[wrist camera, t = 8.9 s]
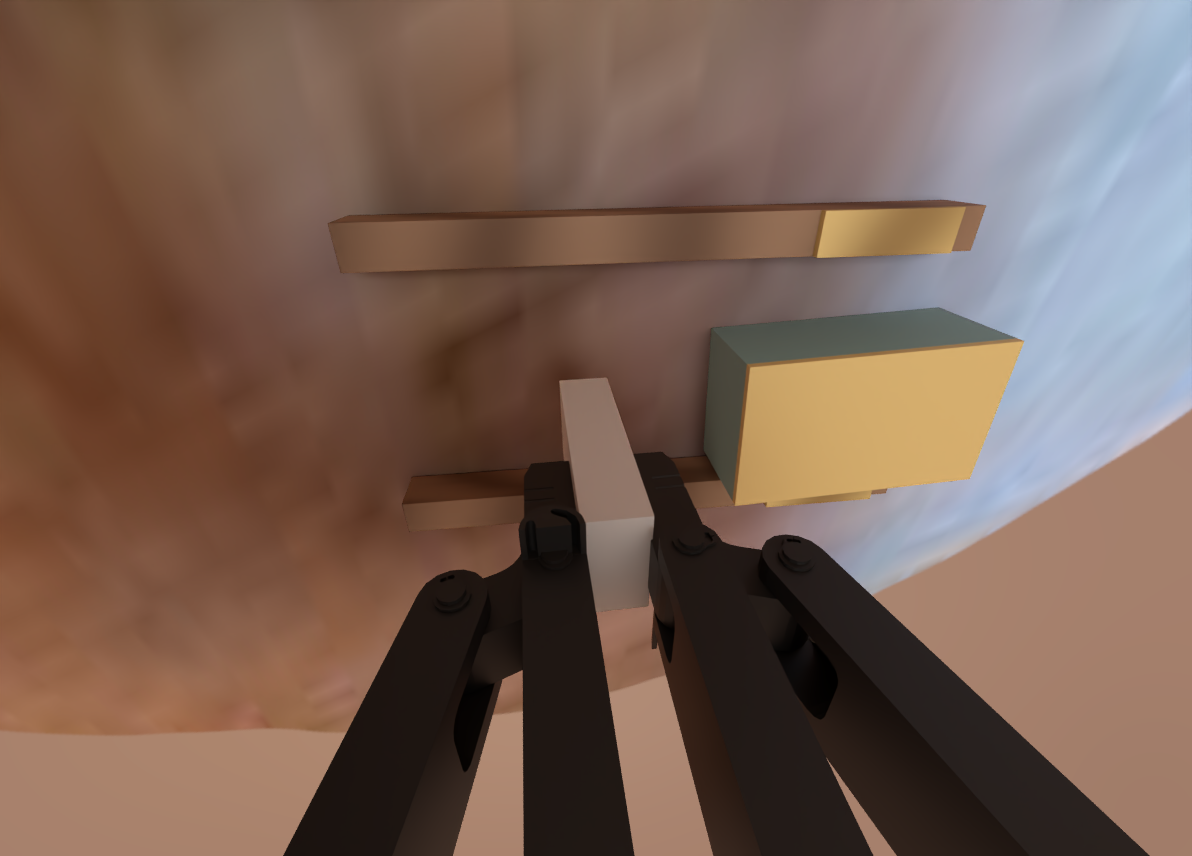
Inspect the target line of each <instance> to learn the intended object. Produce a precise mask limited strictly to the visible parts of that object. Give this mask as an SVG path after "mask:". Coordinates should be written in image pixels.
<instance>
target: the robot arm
mask: <svg viewBox="0 0 1192 856" xmlns="http://www.w3.org/2000/svg"><path fill="white" fill-rule="evenodd" d="M559 385H560V403H561V422H562V440H563V455H564V461H559V462H547V463H535V464H531V466H530V467H529V469H528V470H527V472H526V474H525V475H524V518H523V519H522V520H521V523H520V526H519V538H520V547H521V555H520V557H519V558H518V559H517V560H516V562H515V563H514V564H512V565H511V566H510V567H508V568H507V569H505V570H503V571H501V572H499V573H497V574H494V575H492V576H489V577H486V578H484V579H483V578H482V577H481V576H479V575H478V574H477V573H475V572H471V571H467V570H453V571H448V572H446V573H443V574H440V575H438V576H436V577H435V578H433V579H432V580H430V581H429V582H428V583H426V584H425V586H424V587H423V588H422V590H421V591H420V592H419V594H418V596H417V597H416V599H415V601H414V603H413V605H412V607H411V609H410V611H409V613H408V615H407V617H406V619H405V621H404V623H403V625H402V627H401V628H400V630H399V632H398V634H397V636H396V638H395V640H394V642H393V644H392V646H391V648H390V650H389V652H388V654H387V656H386V657H385V659H384V661H383V663H382V665H381V667H380V669H379V671H378V673H377V675H376V677H375V679H374V681H373V683H372V685H371V687H370V688H369V690H368V692H367V694H366V696H365V698H364V700H363V702H362V704H361V706H360V708H359V710H358V712H357V714H356V716H355V718H354V719H353V721H352V723H351V725H350V727H349V729H348V731H347V733H346V735H345V737H344V739H343V741H342V743H341V745H340V747H339V749H338V750H337V752H336V754H335V756H334V758H333V760H332V762H331V764H330V766H329V768H328V770H327V772H326V774H325V776H324V778H323V780H322V782H321V783H320V785H319V787H318V789H317V791H316V793H315V795H314V797H313V799H312V801H311V803H310V805H309V807H308V809H307V811H306V812H305V815H304V817H303V818H302V820H301V822H300V824H299V826H298V828H297V830H296V832H295V834H294V836H293V838H292V840H291V842H290V844H289V845H288V847H287V849H286V851H285V853H284V855H283V856H453V853H454V849H455V846H456V842H457V839H458V834H459V832H460V828H461V824H462V821H463V817H464V814H465V810H466V807H467V803H468V800H469V796H470V793H471V789H472V786H473V782H474V778H475V775H476V772H477V768H478V764H479V760H480V757H481V754H482V750H483V747H484V743H485V740H486V736H487V733H488V729H489V726H490V722H491V719H492V715H493V712H494V708H495V705H496V701H497V697H498V694H499V690H500V687H501V683H502V679H504V678H506V677H508V676H510V675H513V674H515V673H517V672H519V671H521V670H523V795H524V796H523V800H524V801H523V803H524V805H523V808H524V856H634V851H633V843H632V838H631V831H630V824H629V818H628V812H627V805H626V799H625V792H624V787H623V780H622V773H621V767H620V761H619V755H618V748H617V742H616V735H615V729H614V723H613V716H612V711H611V704H610V698H609V691H608V685H607V678H606V672H605V666H604V659H603V653H602V647H601V640H600V634H599V628H598V621H597V615H596V612H603V611H611V610H620V609H629V608H637V607H646V606H648V605H649V592H650V596H651V599H652V603H653V607H654V615H653V628H652V649H656V648H657V642H658V646H659V650H660V654H661V658H662V661H663V665H664V669H665V673H666V677H667V680H668V684H669V688H670V692H671V696H672V700H673V703H674V707H675V711H676V715H677V719H678V722H679V726H680V730H681V734H682V737H683V742H684V745H685V749H686V753H687V757H688V761H689V765H690V768H691V772H692V776H693V780H694V784H695V787H696V791H697V795H698V799H699V802H700V806H701V810H702V814H703V818H704V821H705V826H706V829H707V833H708V837H709V841H710V845H711V849H712V852H713V856H873V854H872V852H871V850H870V848H869V846H868V844H867V842H866V839H865V837H864V835H863V833H862V831H861V830H860V827H859V825H858V823H857V821H856V819H855V817H854V815H853V813H852V811H851V809H850V806H849V805H848V802H847V800H846V798H845V796H844V794H843V792H842V790H841V788H840V786H839V784H838V781H837V779H836V777H835V775H834V773H833V771H832V769H831V767H830V765H829V763H828V761H827V759H828V760H829V762H830V763H831V765H832V766H833V767H834V769H835V770H836V771H837V773H838V774H839V776H840V777H841V779H842V780H843V781H844V783H845V784H846V786H847V787H848V788H849V790H850V791H851V792H852V794H853V795H854V797H855V798H856V799H857V801H858V802H859V804H860V805H861V806H862V808H863V809H864V811H865V812H866V813H867V815H868V816H869V817H870V819H871V820H872V821H873V823H874V824H875V826H876V827H877V829H878V830H879V831H880V833H881V834H882V835H883V837H884V838H885V840H886V841H887V843H888V844H889V845H890V847H891V848H892V849H893V851H894V852H895V853H896V855H897V856H1149V855H1148V854H1147V853H1146V852H1145V851H1144V850H1143V849H1142V848H1141V847H1140V846H1139V845H1138V844H1137V843H1136V842H1135V841H1133V840H1132V839H1131V838H1130V837H1129V836H1128V835H1127V834H1126V833H1125V832H1124V831H1123V830H1122V829H1121V828H1120V827H1118V826H1117V825H1116V824H1115V823H1114V822H1113V821H1112V820H1111V819H1110V818H1109V817H1108V816H1107V815H1106V814H1105V813H1104V812H1102V811H1101V810H1100V809H1099V808H1098V807H1097V806H1096V805H1095V804H1094V803H1093V802H1092V801H1091V800H1090V799H1089V798H1087V797H1086V796H1085V795H1084V794H1083V793H1082V792H1081V791H1080V790H1079V789H1078V788H1077V787H1076V786H1075V785H1074V784H1073V783H1071V782H1070V781H1069V780H1068V779H1067V778H1066V777H1065V776H1064V775H1063V774H1062V773H1061V772H1060V771H1059V770H1058V769H1056V768H1055V767H1054V766H1053V765H1052V764H1051V763H1050V762H1049V761H1048V760H1047V759H1046V758H1045V757H1044V756H1042V755H1041V754H1040V753H1039V752H1038V751H1037V750H1036V749H1035V748H1034V747H1033V746H1032V745H1031V744H1030V743H1029V742H1028V741H1027V740H1026V739H1024V738H1023V737H1022V736H1021V735H1020V734H1019V733H1018V732H1017V731H1016V730H1015V729H1014V728H1013V727H1012V726H1011V725H1010V724H1008V723H1007V722H1006V721H1005V720H1004V719H1003V718H1002V717H1001V716H1000V715H999V714H998V713H996V711H995V710H994V709H992V708H991V707H990V706H989V705H988V704H987V703H986V702H985V701H984V700H983V699H982V698H981V697H980V696H979V695H977V694H976V693H975V692H974V691H973V690H972V689H971V688H970V687H969V686H968V685H967V684H966V683H965V682H964V681H963V680H961V679H960V678H959V677H958V676H957V675H956V674H955V673H954V672H953V671H952V670H951V669H950V668H949V667H948V666H946V665H945V664H944V663H943V662H942V661H941V660H940V659H939V658H938V657H937V656H936V655H935V654H934V653H933V652H932V651H930V650H929V649H928V648H927V647H926V646H925V645H924V644H923V643H922V642H921V641H920V640H918V638H916V636H914V635H913V634H912V633H911V632H910V631H909V630H908V629H907V628H906V627H905V626H904V625H903V624H902V623H901V622H899V621H898V620H897V619H896V618H895V617H894V616H893V615H892V614H891V613H890V612H889V611H888V610H887V609H886V608H885V607H883V606H882V605H881V604H880V603H879V602H878V601H877V600H876V599H875V598H874V597H873V596H872V595H871V594H870V593H869V592H867V591H866V590H865V589H864V588H863V587H862V586H861V585H860V584H859V583H858V582H857V581H856V580H855V579H854V578H853V577H851V576H850V575H849V574H848V573H847V572H846V571H845V570H844V569H843V568H842V567H841V566H840V565H839V564H838V563H836V562H835V561H834V560H833V559H832V558H831V557H830V556H829V555H828V554H827V553H826V552H825V551H824V550H823V549H821V548H820V547H819V546H817V545H816V544H814V543H813V542H812V541H809V540H807V539H804V538H802V537H799V536H793V535H779V536H774V537H772V538H770V539H769V540H767V541H766V542H765V544H764V546H763V547H762V550H759V549H752V548H745V547H739V546H734V545H730V544H727V543H725V542H722V541H721V539H720V538H719V536H718V535H717V534H716V533H715V531H713V530H712V529H710V528H708V527H707V526H705V525H703V524H702V522H701V520H700V517H699V515H698V513H697V511H696V509H695V506H694V504H693V502H692V500H691V498H690V496H689V493H688V491H687V489H686V487H685V486H684V482H683V480H682V478H681V477H680V474H679V472H678V469H677V467H676V465H675V463H674V462H673V461H672V460H671V459H670V458H669V457H667V456H666V455H665V454H664V453H663V452H653V453H640V454H633V452H632V449H631V446H630V444H629V441H628V438H627V435H626V432H625V429H624V426H623V423H622V420H621V417H620V414H619V412H618V409H617V406H616V403H615V400H614V397H613V394H612V391H611V388H610V385H609V382H608V380H607V377H606V378H591V379H575V380H560V381H559ZM826 758H827V759H826Z"/></svg>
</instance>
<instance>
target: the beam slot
mask: <svg viewBox="0 0 1192 856" xmlns="http://www.w3.org/2000/svg"><path fill="white" fill-rule="evenodd" d="M985 207H986V205H979V204H972V203H964V202H957V201H949V200H924V201H886V202H847V203H809V204H770V205H732V206H694V207H655V208H617V209H578V210H540V211H502V212H463V213H425V214H387V215H349V216H346V217H343V218H341V219H338V220H335V221H333V222H330V223H328V227H329V231H330V234H331V238H332V242H333V246H334V249H335V253H336V257H337V261H338V265H339V268H340V272H341V273H358V272H386V271H414V270H442V269H470V268H498V267H525V266H553V265H581V264H609V263H637V262H665V261H693V260H721V259H748V258H776V257H804V256H813V257H816V258H827V257H855V256H882V255H910V254H938V253H951V251H970V250H971V248H972V245H973V242H974V239H975V236H976V233H977V230H978V228H979V225H980V222H981V219H982V216H983V213H984V210H985ZM670 459H671V460H672V461H673V462H674V463H675V465H676V467H677V469H678V472H679V474H680V477H681V478H682V480H683V482H684V486H685V487H686V489H687V491H688V493H689V496H690V498H691V500H692V502H693V504H694V506H695V509H697V508H709V507H722V506H734V503H733V501H732V500H731V498H730V496H729V494H728V493H727V491H726V489H725V487H724V485H723V484H722V482H721V480H720V478H719V476H718V475H717V473H716V471H715V469H714V468H713V466H712V464H711V462H710V460H709V459H708V457H707V456H698V457H684V458H670ZM527 470H528V469H517V470H503V471H489V472H475V473H461V474H447V475H433V476H419V477H412V479H411V481H410V484H409V487H408V489H407V492H406V495H405V498H404V500H403V503H402V507H403V511H404V514H405V518H406V522H407V526H408V530H409V532H413V531H425V530H438V529H450V528H462V527H475V526H487V525H500V524H512V523H521V520H522V519H523V518H524V475H525V474H526V472H527ZM886 491H887V488H886V489H878V490H869V491H860V492H852V493H843V494H834V495H825V496H817V497H808V498H799V499H791V500H782V501H773V502H765V503H764V504H765V506H766V507H775V506H787V505H799V504H811V503H824V502H836V501H848V500H860V499H870V496H871V494H882V493H886ZM756 504H759V503H756Z"/></svg>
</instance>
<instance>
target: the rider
mask: <svg viewBox="0 0 1192 856" xmlns="http://www.w3.org/2000/svg"><path fill="white" fill-rule="evenodd" d="M1023 343H1024V341H1022V340H1020V339H1017V338H1015V337H1012V336H1010V335H1007V334H1005V333H1002V332H1000V331H997V330H995V329H992V328H989V327H987V326H984V325H982V324H979V323H977V322H974V321H972V320H969V319H967V318H964V317H962V316H959V315H957V314H954V313H952V312H949V311H946V310H944V309H941V308H929V309H917V310H906V311H895V312H884V313H873V314H862V315H850V316H839V317H828V318H817V319H806V320H795V321H783V322H772V323H761V324H750V325H739V326H728V327H716V328H711V340H710V356H709V371H708V386H707V402H706V417H705V432H704V447H703V450H704V452H705V453H706V455H707V457H708V459H709V460H710V462H711V464H712V466H713V468H714V469H715V471H716V473H717V475H718V476H719V478H720V480H721V482H722V484H723V485H724V487H725V489H726V491H727V493H728V494H729V496H730V498H731V500H732V501H733V503H734V505H735V506H739V505H747V504H756V503H765V502H773V501H782V500H791V499H799V498H808V497H817V496H825V495H834V494H843V493H852V492H860V491H869V490H878V489H886V488H895V487H904V486H912V485H921V484H930V483H938V482H947V481H956V480H964V479H970V476H971V474H972V471H973V469H974V466H975V464H976V461H977V459H978V456H979V454H980V451H981V449H982V446H983V444H984V441H985V439H986V436H987V434H988V431H989V429H990V426H991V424H992V421H993V419H994V416H995V414H996V411H997V408H998V406H999V403H1000V401H1001V398H1002V396H1003V393H1004V391H1005V388H1006V386H1007V383H1008V381H1009V378H1010V376H1011V373H1012V371H1013V368H1014V366H1015V363H1016V361H1017V358H1018V356H1019V353H1020V351H1021V348H1022V346H1023Z"/></svg>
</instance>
